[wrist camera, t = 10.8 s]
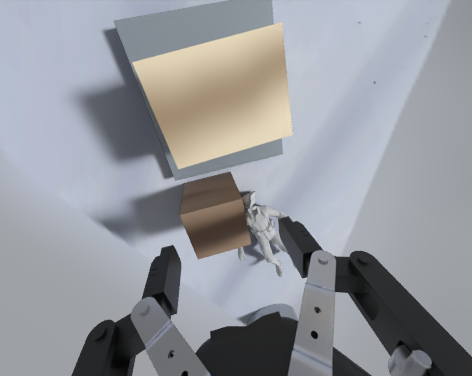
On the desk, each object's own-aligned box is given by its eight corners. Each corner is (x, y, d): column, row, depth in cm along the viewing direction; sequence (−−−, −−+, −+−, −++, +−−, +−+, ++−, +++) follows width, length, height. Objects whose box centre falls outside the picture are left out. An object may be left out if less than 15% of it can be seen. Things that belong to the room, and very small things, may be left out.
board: (278, 150, 20) (283, 154, 18) (176, 176, 19) (175, 181, 18) (265, 0, 14) (272, -9, 13) (120, 26, 13) (112, 19, 12)
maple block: (267, 124, 17) (292, 134, 12) (183, 149, 16) (178, 169, 12) (255, 45, 14) (281, 22, 10) (153, 73, 14) (132, 62, 9)
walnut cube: (238, 208, 22) (251, 244, 17) (197, 219, 22) (198, 259, 17) (230, 171, 20) (242, 198, 15) (184, 182, 19) (179, 215, 14)
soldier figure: (259, 286, 24) (217, 238, 17) (250, 255, 28) (212, 205, 21) (314, 263, 24) (293, 203, 17) (297, 234, 28) (274, 175, 20)
